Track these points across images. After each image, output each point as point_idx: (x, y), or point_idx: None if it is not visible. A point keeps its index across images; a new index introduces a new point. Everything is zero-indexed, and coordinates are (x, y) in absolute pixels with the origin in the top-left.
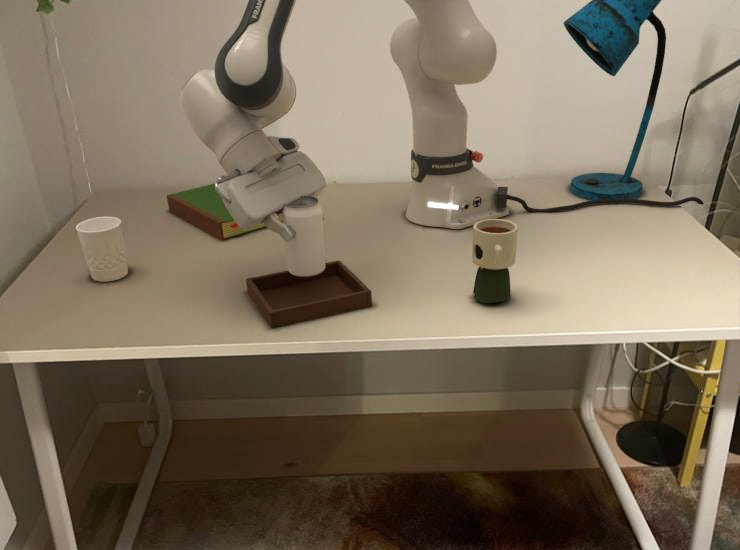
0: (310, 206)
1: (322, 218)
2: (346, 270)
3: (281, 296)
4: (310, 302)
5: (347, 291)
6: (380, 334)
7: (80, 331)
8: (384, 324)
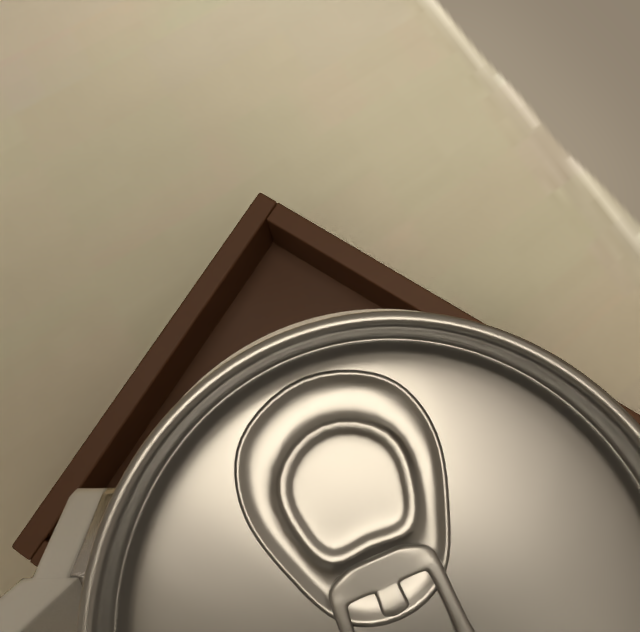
0: (473, 337)
1: (111, 489)
2: (114, 427)
3: None
4: None
5: None
6: (443, 73)
7: None
8: (371, 101)
